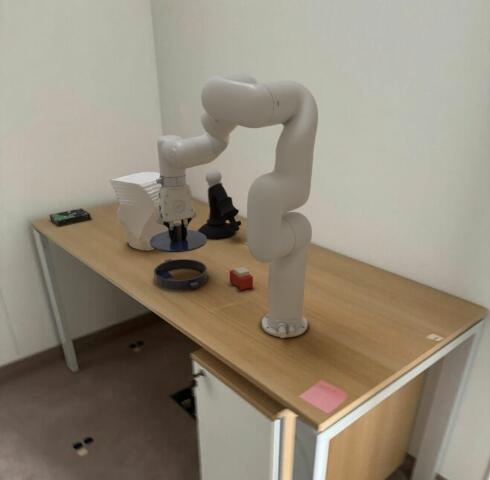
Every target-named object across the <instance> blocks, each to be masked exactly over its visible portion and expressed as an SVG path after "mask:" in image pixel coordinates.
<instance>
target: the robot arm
mask: <svg viewBox="0 0 490 480" xmlns="http://www.w3.org/2000/svg"><path fill="white" fill-rule="evenodd" d="M200 100H201V105H202V108H203V109H202V111H201V113H200V122H201V123H200V124H201V126H202V127H203V129H204V131H205V132H204V133H203V134H202V135H198V136H193V137H192V136H191V137H187V138H182V137H181V136H180V135H178V134H177V135H175V134H168V135H161V136H159V137H158V138H157V140H156V147H157V157H158V168H159V173H160V178H158V179H156V183H157V184H161V186H159V195H158V207H159V214H158V217H157V220H156V222H157V223H159V224H162V225H165V226H166V227H167V228H168V231H169V238H170V239H171V240H172V241H173V242H176V232H175V230H174V227H173V221H174V222H176V221H180V223H181V224H182V234H183V239H184V240H186V236H187V230H188V227H189V224H190V223H191V222H192V221H193V220H194V219H195V218H196V217H197V213H196V212H195V206H194V199H193V193H192V189H191V186H190V184H189V183H188V182H187V171H186V170H187V169H190V168H194V167H198V166H203V165H207V164H210V163H212V162H214V161H215V160H216V159H217V158H219V157H220V156H221V154H222V153H223V152H225V150H226V149H227V148H228V145H229V142H230V137H231V136H230V134H231V133H232V132H233V131H234V130H235V129H236V128H237V127H238V126H240V127H243V128H248V129H262V128H266V127H271V126H277V125H282V126H283V127H282V130H281V132H280V135H279V137H278V140H277V142H276V147H275V156H274V157H275V158H274V159H275V160H274V167H273V170H272V171H271V172H267V173H264V174H261V175H259V176H258V177H256V178H255V179H254V180H253V181H252V183H251V185H250V187H249V188H248V192H247V202H246V244H247V249H248V251H249V253H250V255H251V256H252V258H253V259H254V260H256V261H257V262H259V263H265V264H266V263H268V273H267V274H268V277H267V279H268V280H267V314H266V315H265V316H264V317H263V318H262V320H261V329H263V331H264V332H266V333H267V334H268V335H271V336H274V337H279V338H280V339H284V338H294V337H298V336H301V335H302V334H304V333H305V332H306V331H307V330H308V320H307V319H306V317H305V316H303V312H304V299H305V298H304V297H305V285H306V271H307V270H306V269H307V261H308V254H309V251H310V247H311V242H312V238H313V228H312V225H311V222H310V220H309V218H308V217H307V216H306V215H305V214H303V213H302V212H298V211H294V210H297V209H299V208H301V207H303V206H304V205H305V204H306V203H308V201H309V198H310V194H311V186H312V176H313V164H314V152H315V144H316V137H317V131H318V126H319V125H318V124H319V110H318V105H317V101H316V99H315V96H314V95H313V93H312V92H311V91H310V89H308V87H307V86H305V85H304V84H302V83H300V82H297V81H292V80H276V81H269V82H258V81H257V80H256V79H255V78H254V77H253V76H251V75H250V74H246V73H229V74H217V75H213V76H211V77H210V78H208V79H207V80H206V81H205V83H204V85H203V87H202V89H201V94H200ZM162 219H163V220H162ZM164 220H165V221H164Z"/></svg>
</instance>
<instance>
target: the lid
mask: <svg viewBox="0 0 490 480" xmlns="http://www.w3.org/2000/svg"><path fill="white" fill-rule="evenodd" d="M173 227H174V230H175V232H176V242H173V241H172V240H171V239H170V238H169V231H166V232H162V233H159V234H157V235H155V236H153V237H152V238H151V239H150V245H151V247H152V248H154V249H153V250H156V251H160V252H162V253H186V252H193V251H196V250H198V249H200V248H202V247H204V246H205V245H206V244H207V242H208V239H207V237H206V236H205V235H204V234H202V233H200V232H198V230H190V229H187V236H186V240H184V239H183V234H182V224H181V222H174V224H173Z"/></svg>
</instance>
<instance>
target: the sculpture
mask: <svg viewBox="0 0 490 480" xmlns="http://www.w3.org/2000/svg"><path fill="white" fill-rule="evenodd" d="M222 177H223V176H222V174H221V172H220V171H219V170H217V169H210V170H209V171H208V172H206V174H205V181H206V183H207V186H208V187H207V190H206V192H207V202H208V207H209V213H208V216H207V217H208V218H207V220H206V223H204V224H203V225H201V226H200V227H199V228H198V229H197V232H200V233H202V234H204V235H205V236H206V237H207V240H225V239H228V238H231V237H233V236H234V235H235V234H236V232H238V231H239V230H240V227H241V226H242V221H241V220H236V218H235V217H237V216H238V214H239V212H240V210H239V209H238V208H236V207H235V206H234V203H233V197H231V196H228V193H227V191H226V189H225V187H224V186H223V183H222V182H221V181H222V179H223V178H222ZM227 221H228V222H227Z"/></svg>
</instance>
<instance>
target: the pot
mask: <svg viewBox="0 0 490 480" xmlns="http://www.w3.org/2000/svg"><path fill="white" fill-rule="evenodd" d="M181 268H182V269H186V268H187V269H193V270H198V271H199V272H202V273H201V274H199V275H197V276H195V277H193V278H188V279H180V280H179V279H178V280H177V278H175V277H174V276H173V275H172V274H171V273H170V272H169V270H174V269H181ZM153 277H154V282H155V284H156V285H157V286H159V287H161V288H163V289H166V290H171V291H182V290H188V289H195V288H199V287H200V286H201V285H202V284H204V283H205V282H206V281H207V280H208V266H207V265H206V264H205V263H204V262H201V261H199V260H196V259H189V258H178V259H172V258H169V259H166V260H164V262H162V263H160V264H158V265H156V267H155V268H154V269H153Z"/></svg>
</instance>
